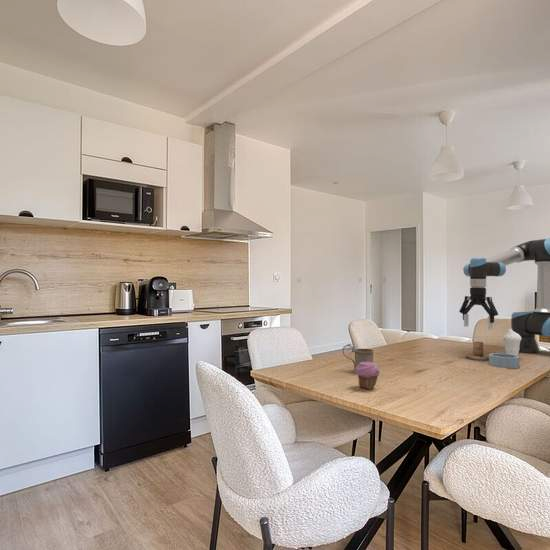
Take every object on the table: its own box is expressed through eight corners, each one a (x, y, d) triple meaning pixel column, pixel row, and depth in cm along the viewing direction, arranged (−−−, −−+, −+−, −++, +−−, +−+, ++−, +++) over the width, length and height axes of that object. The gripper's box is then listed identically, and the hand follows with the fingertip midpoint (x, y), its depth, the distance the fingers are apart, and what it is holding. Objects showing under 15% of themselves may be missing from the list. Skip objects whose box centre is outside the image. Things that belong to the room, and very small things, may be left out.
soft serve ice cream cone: (516, 357, 207) (516, 327, 208) (525, 361, 199) (524, 329, 199) (500, 357, 208) (499, 327, 208) (507, 360, 200) (507, 329, 200)
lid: (475, 355, 211) (475, 340, 211) (496, 359, 201) (496, 343, 201) (460, 357, 206) (460, 341, 206) (481, 361, 195) (481, 344, 195)
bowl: (499, 362, 196) (499, 352, 196) (525, 367, 185) (524, 356, 185) (483, 364, 190) (483, 354, 190) (509, 369, 179) (509, 358, 179)
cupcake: (351, 387, 148) (351, 361, 148) (363, 383, 154) (363, 358, 154) (371, 392, 141) (371, 365, 141) (384, 388, 147) (384, 361, 148)
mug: (375, 370, 178) (375, 343, 178) (375, 375, 168) (375, 347, 168) (343, 368, 182) (343, 342, 182) (341, 372, 172) (341, 345, 172)
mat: (474, 355, 213) (474, 355, 213) (499, 360, 200) (499, 359, 200) (457, 358, 206) (457, 357, 206) (482, 363, 194) (482, 362, 194)
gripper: (452, 286, 213) (452, 325, 213) (496, 287, 191) (496, 330, 191) (461, 286, 217) (461, 325, 216) (505, 287, 195) (505, 330, 194)
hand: (477, 327), depth 203 cm, fingers open, 13 cm apart
